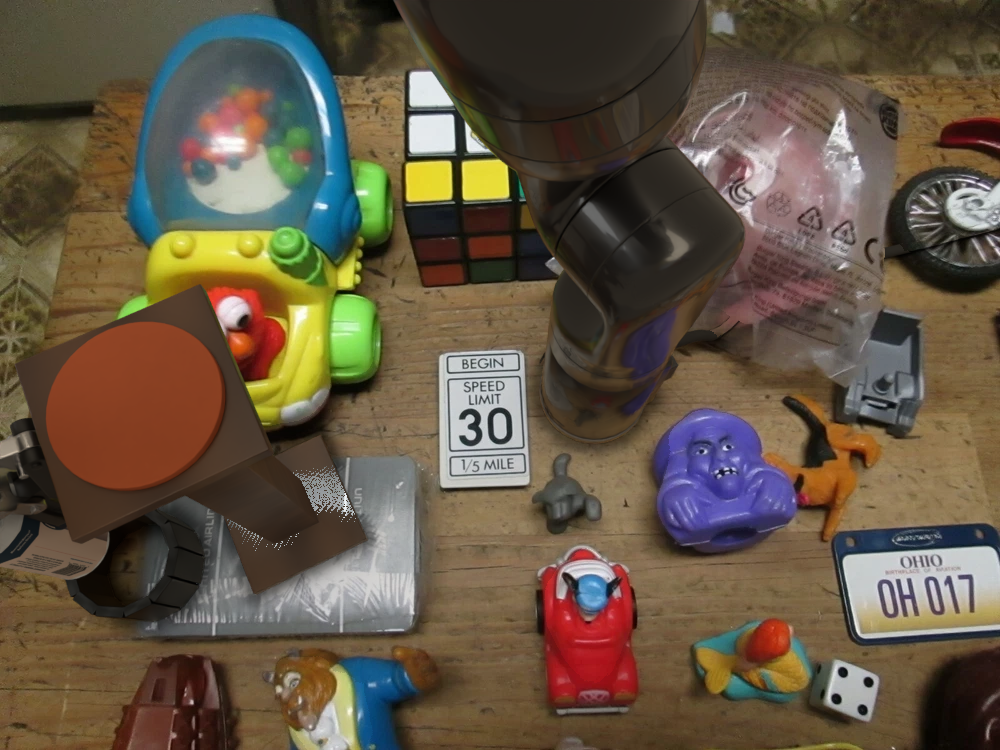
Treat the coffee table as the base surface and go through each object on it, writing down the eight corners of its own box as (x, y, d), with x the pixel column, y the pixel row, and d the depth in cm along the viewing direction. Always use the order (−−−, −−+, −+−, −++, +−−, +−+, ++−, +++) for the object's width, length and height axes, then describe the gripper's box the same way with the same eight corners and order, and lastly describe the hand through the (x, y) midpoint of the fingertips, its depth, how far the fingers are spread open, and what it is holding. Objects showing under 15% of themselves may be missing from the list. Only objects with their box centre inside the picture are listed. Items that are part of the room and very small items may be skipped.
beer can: (124, 520, 57) (28, 485, 46) (95, 588, 56) (-11, 570, 45) (61, 501, 58) (-49, 462, 47) (30, 569, 56) (-91, 545, 45)
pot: (184, 498, 71) (156, 484, 65) (218, 591, 68) (192, 584, 63) (86, 544, 70) (50, 533, 64) (118, 640, 67) (83, 637, 62)
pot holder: (192, 299, 43) (187, 294, 43) (251, 443, 41) (247, 439, 40) (30, 369, 42) (24, 365, 41) (81, 521, 39) (74, 519, 39)
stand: (322, 437, 73) (200, 283, 44) (368, 540, 70) (269, 449, 41) (214, 487, 71) (13, 363, 42) (256, 595, 68) (71, 541, 39)
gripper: (-386, 632, 32) (-85, 642, 48) (-20, 468, 34) (151, 530, 50) (-409, 461, 34) (-114, 525, 50) (-65, 316, 36) (113, 423, 52)
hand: (17, 527), depth 50 cm, fingers closed on beer can, 4 cm apart
